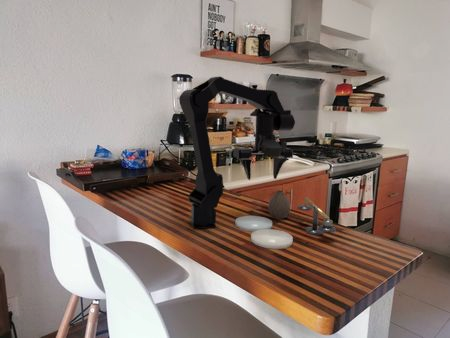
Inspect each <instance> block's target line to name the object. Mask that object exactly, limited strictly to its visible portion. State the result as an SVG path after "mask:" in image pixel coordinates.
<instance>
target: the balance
mask: <svg viewBox="0 0 450 338" xmlns="http://www.w3.org/2000/svg"><path fill="white" fill-rule="evenodd" d="M303 200H304V204H298V205H297V209H298V210H300V211H313V212H312V213H313V214H312V226H306V227H305V233H306V234H307V235H311V236H323V234H324V233H335V232H337V228H336V226H333V220H332V219H331V218H330V217H329V216H328V215H327V214H326V213H325V212H324V211H323V210H322V209H321V208H320V206H318V205H316V204H315V203H314V202H313V201H312V200H311V199H309V198H308V197H307V196H305V197H304V199H303ZM306 203H308V204H306ZM319 215H321V216H322V217H323V222H322V224H320V225H318V224H319Z"/></svg>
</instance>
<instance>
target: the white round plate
mask: <svg viewBox="0 0 450 338" xmlns="http://www.w3.org/2000/svg"><path fill="white" fill-rule="evenodd" d="M235 226H236V227H237V229H240V230H242V231H247V232H252V233H253V232H254V231H257V230H262V229H273V221H272V219H269V218H267V217H263V216H258V215H244V216H240V217H237V218H236V219H235Z"/></svg>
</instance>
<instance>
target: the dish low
mask: <svg viewBox="0 0 450 338" xmlns="http://www.w3.org/2000/svg"><path fill="white" fill-rule="evenodd" d="M293 239H294V237H293V236H292V235H291V234H290V233H288V232H286V231H282V230H280V229H279V230H278V229H273V228H271V229H262V230H257V231H254V232H252V233H251V234H250V240H251V242H252V243H253V245H255V246H258V247H261V248H264V249H268V250H269V249H273V250H280V249H281V250H283V249H286V248H289V247H291V246H293V241H294V240H293Z"/></svg>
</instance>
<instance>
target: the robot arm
mask: <svg viewBox="0 0 450 338" xmlns="http://www.w3.org/2000/svg"><path fill="white" fill-rule="evenodd" d="M218 94H223V95H225V96H229V97H232V98H236V99H239V100H242V101H245V102H247V103H248V104H250V106H252V107H254V108H255V109H254V110H253V111H252V112H251V113H250V114H249V116H250V117H255V129H254V130H255V131H254V133H253V137H254V145H253V147H252V149H250V148H247V147H235V148H234V149H233V152H232V155H233V157H235V158H236V160H239V161H240V162H241V165H242V167H243V170H244V172H245V175H246V178H247V180H249V181H250V180H251V178H252V177H251V176H252V174H251V172H252V171H251V170H252V169H251V167H252V166H251V165H252V164H251V163H252V162H253V160H252V158H251V157H253V156H254V157H255V156H257V157H258V156H263V157H267V158H272V157H273V160H272V161H273V162H272V163H273V164H272V166H273V167H272V170H273V172H272V176H273V179H274V180H277V178H278V175H279V173H280V170H281V168H282V166H283V164H284V163H285V162H287V161H289V160H290V158H292V159H293V158H294V152H293V149H292V148H290V147H287V146H288V142H287V141H286V140H279V141H277V140H276V134H274V131H275V132H283V131H286V132H289V131H292V130H293V129H294V127H295V124H296V120H295V118H294V115H293V114H292V110H291V109H284V106H283V105H282V103H281V101H280V99H279V96H278V93H277V92H276V91H275V90H273V89H272V90H271V89H260V88H259V89H258V88H253V87H250V86H247V85H244V84H241V83H238V82H236V81H232V80H229V79H227V78H224V77H223V76H220V75H219V76H212V77H209V78H208V80H206V81H204V82H203V83H200V84H199V85H197V86H194V87H193V88H192V89H186V90H183V92H181V94H180V95H179V99H178V100H179V101H178V102H179V106H180V108H181V110H182V114H183V115H184V117H185V119H186V120H187V122H188V124H189V129H190V134H191V135H190V136H191V139H192V146H193V152H194V158H195V163H196V168H197V172H196V177H195V180H194V181H195V187H194V189H192V190H191V192H190V193H189V194H188V195H187V198H188V201H189V202H190V203H191V211H190V213H191V214H190V215H191V217H190V220H189V223H190V225H191V227H193V229H195V230H197V229H208V228H209V229H210V228H216V222H217V210H216V209H215V208H217V207H218V205H219V202H220V199H221V197H222V196H223V195H224V194H223V193H224V189H225V187H226V186H225V185H224V181H223V180H224V179H223V178H224V177H223V174H221V173H218V172H216V170H215V167H214V162H213V155H212V150H211V143H210V137H209V131H208V126H207V119H208V114H209V111H210V109H209V108H210V107H209V105H210V104H209V103H210V102H211V101H212V100H214V99H215V98H216V97H217V96H218Z"/></svg>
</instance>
